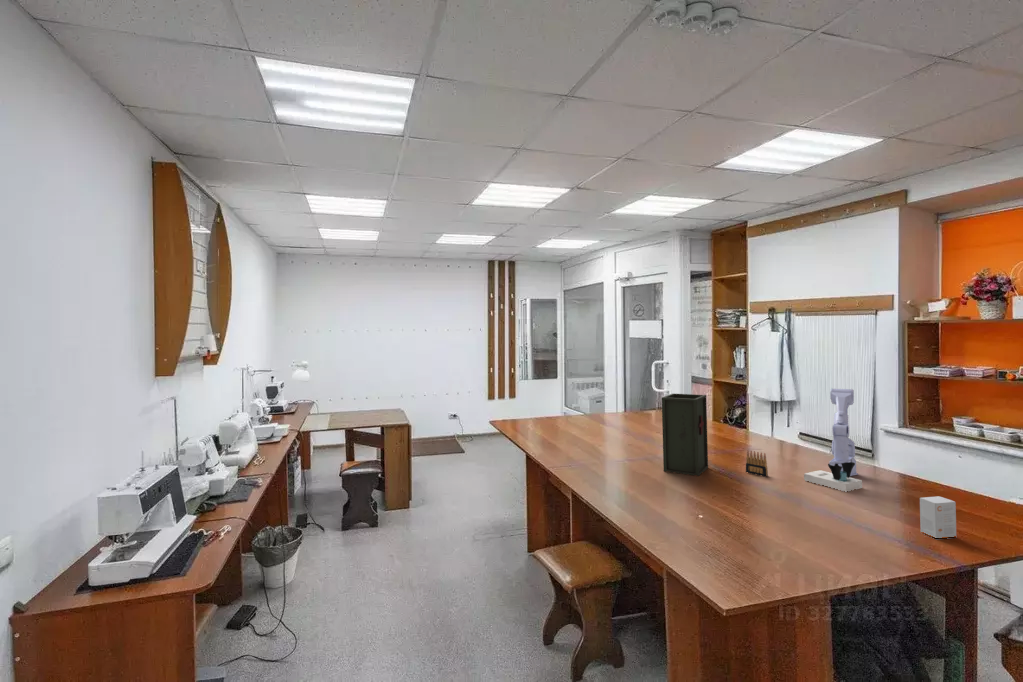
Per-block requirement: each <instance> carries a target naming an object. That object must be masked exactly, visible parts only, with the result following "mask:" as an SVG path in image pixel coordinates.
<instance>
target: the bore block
mask: <svg viewBox="0 0 1023 682" xmlns="http://www.w3.org/2000/svg"><path fill="white" fill-rule="evenodd" d="M804 480H805V481H804ZM803 481H804V482H807V481H809V482H808V483H811V482H812V483H811V484H814V483H816V484H815V485H818V484H820V485H819V486H822V485H824V486H823V487H825V486H828V487H827V488H829V487H831V488H830V489H833V488H835V489H834V490H836V489H838V490H837V491H840V490H841V492H844V491H845V493H848V492H852V491H855V490H854V489H856V490H859V489H863V480H862V479H858V478H854V477H851V476H850V477H849V478H847V481H846V482H842V481H838V480H835V479H834V478H833V474H832V473H831V472H829V471H825V470H821V469H820V470H814V471H810V472H804V474H803ZM851 490H852V491H851ZM847 491H848V492H847Z"/></svg>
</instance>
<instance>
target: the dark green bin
mask: <svg viewBox="0 0 1023 682" xmlns="http://www.w3.org/2000/svg"><path fill="white" fill-rule="evenodd" d="M707 411H708V410H707V395H706V394H690V393H671V394H668V395H665V396H663V397H661V421H662V424H661V425H662V453H663V454H662V457H663V462H662V463H663V464H662V465H663V472H666V471H670V472H669V473H673V472H677V473H676V474H680V473H682V474H681V475H687V474H689V475H688V476H694V475H697V476H696V477H700V476H701V475H700V474H701V473H702V472H703V473H704V472H705V471H706V470H708V468H709V450H708V412H707ZM703 473H702V474H703Z"/></svg>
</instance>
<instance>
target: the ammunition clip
mask: <svg viewBox="0 0 1023 682" xmlns="http://www.w3.org/2000/svg"><path fill="white" fill-rule="evenodd" d="M767 462H768V461H767V455H766V453H765V452H764V453H763V452H762V451H761V452H760V453H759V451H752V450H750V451H749V449H747V450H746V462H745V473H746V472H748V474H751V473H752V475H755V474H757V475H756V476H760V475H762V477H765V476H766V477H768V476H769V472H768V466H767V465H768V463H767Z"/></svg>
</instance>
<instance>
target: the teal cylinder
mask: <svg viewBox="0 0 1023 682" xmlns="http://www.w3.org/2000/svg"><path fill="white" fill-rule="evenodd" d="M838 481H842V482H846V481H847V472H845V471H841V472H840V479H839V480H838Z"/></svg>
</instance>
